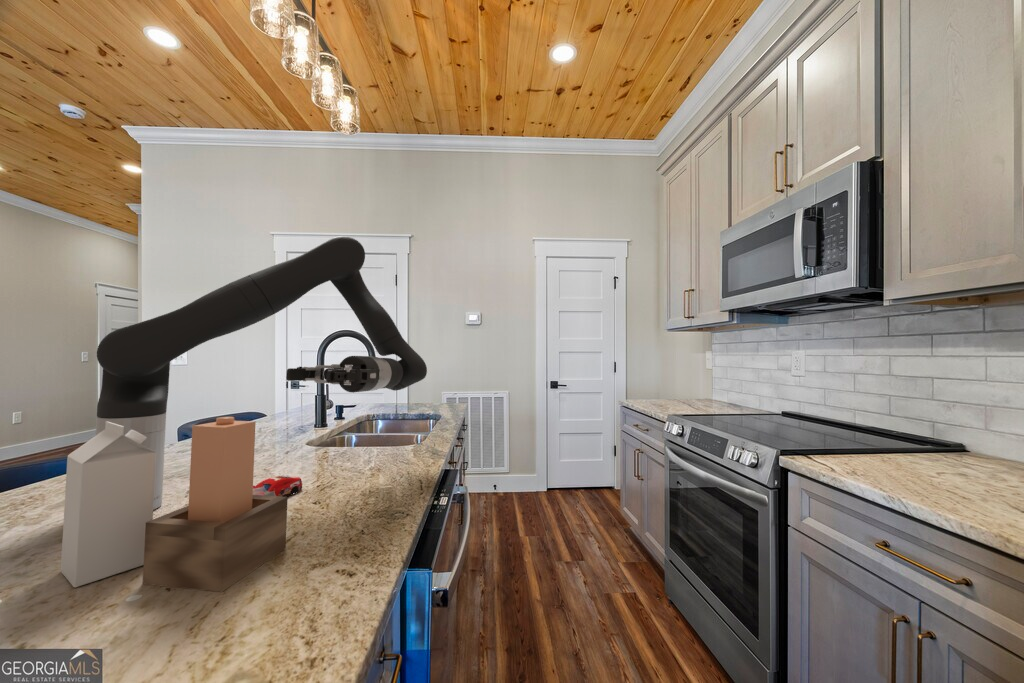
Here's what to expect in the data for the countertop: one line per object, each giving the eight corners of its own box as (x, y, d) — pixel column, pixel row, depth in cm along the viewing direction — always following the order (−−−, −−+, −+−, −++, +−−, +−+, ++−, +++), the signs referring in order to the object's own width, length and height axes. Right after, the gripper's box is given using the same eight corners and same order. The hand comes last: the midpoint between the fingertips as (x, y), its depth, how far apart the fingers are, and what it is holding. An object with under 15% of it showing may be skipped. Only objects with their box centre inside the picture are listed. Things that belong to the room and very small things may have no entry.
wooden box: (142, 583, 49) (145, 522, 49) (218, 542, 60) (221, 492, 60) (222, 591, 48) (225, 528, 48) (285, 548, 59) (287, 496, 59)
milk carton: (74, 589, 48) (83, 430, 48) (59, 572, 51) (68, 424, 52) (151, 564, 54) (158, 423, 55) (133, 549, 57) (140, 418, 58)
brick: (187, 525, 52) (192, 419, 53) (221, 510, 57) (226, 414, 58) (219, 528, 51) (224, 421, 52) (251, 513, 56) (255, 415, 57)
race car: (250, 515, 71) (251, 492, 72) (227, 511, 73) (228, 489, 73) (307, 491, 84) (307, 472, 84) (287, 488, 86) (287, 469, 86)
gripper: (338, 355, 87) (276, 353, 71) (395, 357, 83) (343, 355, 68) (336, 389, 87) (273, 395, 71) (394, 392, 83) (341, 399, 67)
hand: (307, 375), depth 69 cm, fingers open, 8 cm apart
